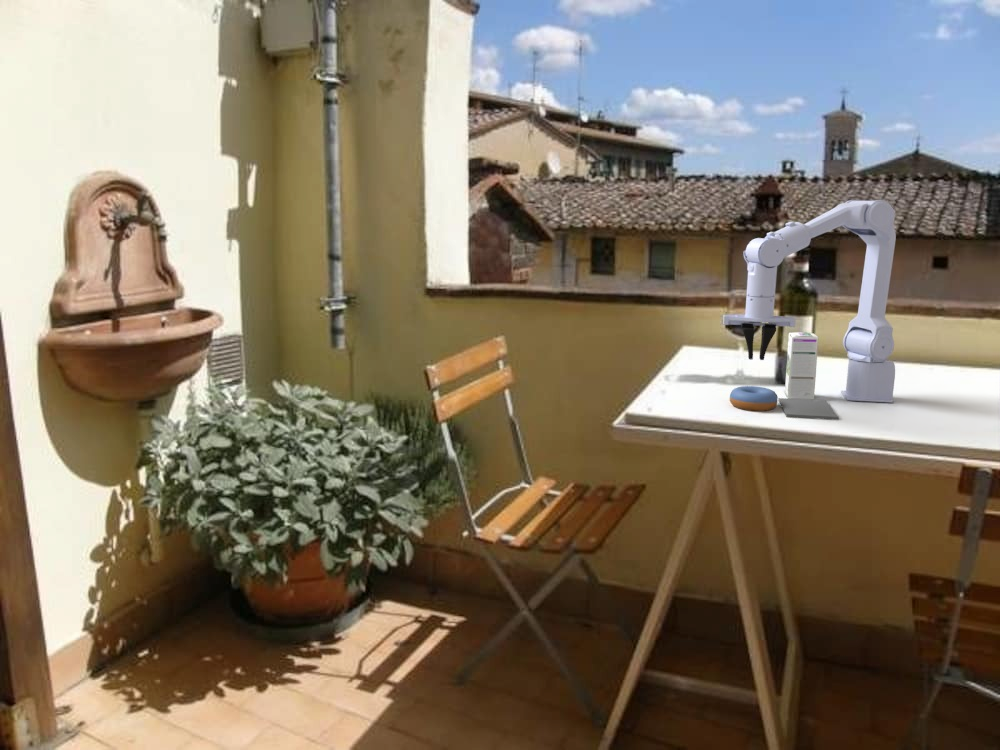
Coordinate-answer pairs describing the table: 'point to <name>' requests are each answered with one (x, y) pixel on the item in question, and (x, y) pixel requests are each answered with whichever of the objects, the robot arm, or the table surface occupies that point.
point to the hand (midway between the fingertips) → (756, 358)
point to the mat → (807, 408)
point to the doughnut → (753, 398)
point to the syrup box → (801, 365)
